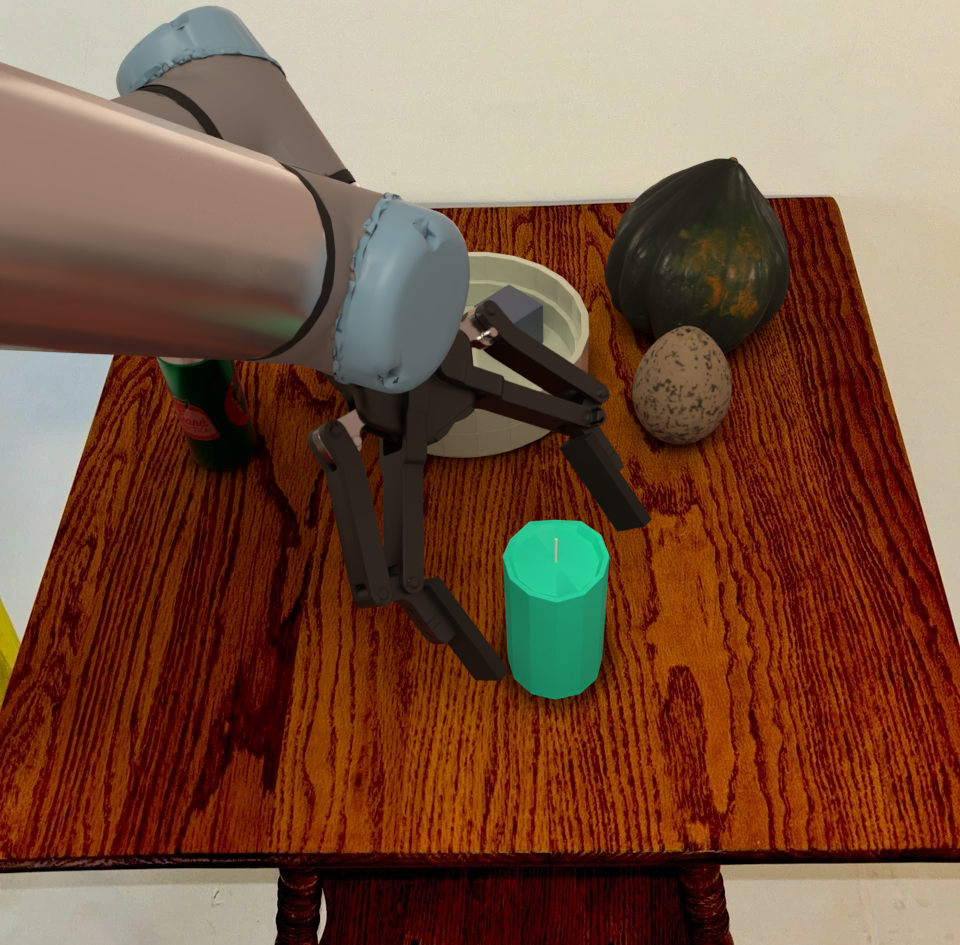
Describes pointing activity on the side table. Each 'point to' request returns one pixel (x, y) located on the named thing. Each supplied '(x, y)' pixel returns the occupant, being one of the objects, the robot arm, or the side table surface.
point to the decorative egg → (682, 386)
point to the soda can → (211, 410)
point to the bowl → (560, 334)
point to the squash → (700, 256)
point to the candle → (555, 606)
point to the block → (520, 310)
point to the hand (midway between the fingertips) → (567, 597)
